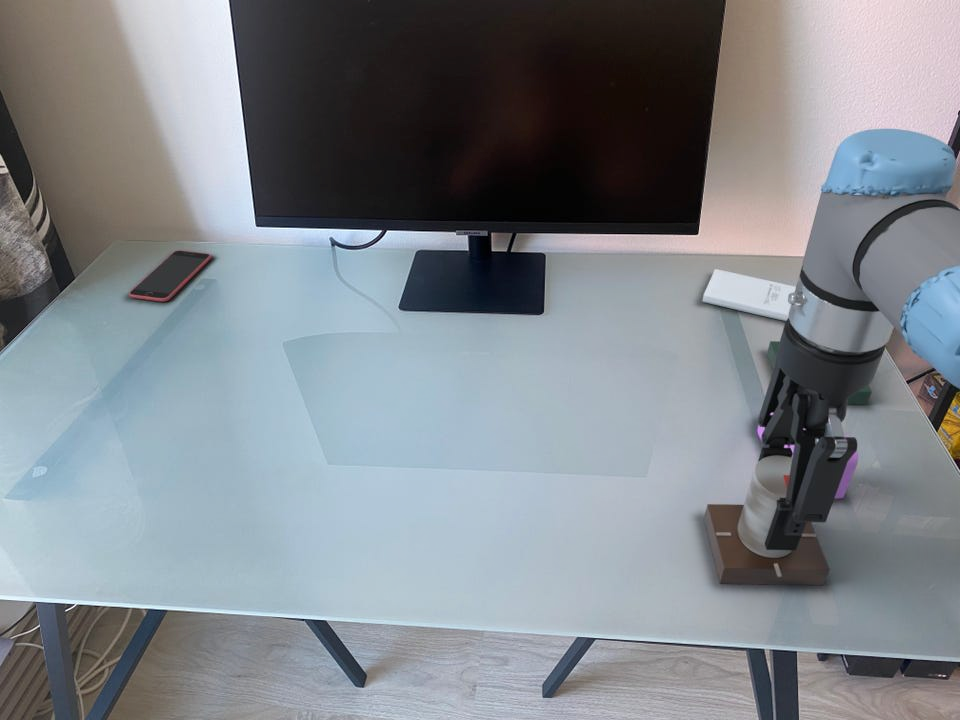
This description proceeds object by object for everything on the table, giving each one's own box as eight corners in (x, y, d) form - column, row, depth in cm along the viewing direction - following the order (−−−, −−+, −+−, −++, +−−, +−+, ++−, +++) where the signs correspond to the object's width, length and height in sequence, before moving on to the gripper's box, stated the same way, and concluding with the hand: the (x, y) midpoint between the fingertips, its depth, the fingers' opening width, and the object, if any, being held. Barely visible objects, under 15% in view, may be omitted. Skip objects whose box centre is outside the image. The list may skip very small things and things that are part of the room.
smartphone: (125, 294, 116) (175, 249, 126) (126, 297, 116) (176, 252, 127) (166, 299, 114) (213, 253, 125) (167, 303, 115) (213, 256, 125)
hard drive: (713, 276, 118) (797, 294, 114) (701, 303, 112) (788, 323, 108) (715, 267, 117) (799, 285, 113) (703, 294, 111) (791, 313, 107)
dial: (731, 512, 78) (748, 452, 72) (786, 513, 78) (808, 453, 72) (744, 557, 73) (763, 497, 68) (802, 558, 73) (827, 497, 68)
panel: (796, 514, 81) (802, 497, 79) (826, 593, 73) (833, 576, 71) (701, 513, 81) (705, 496, 79) (721, 591, 73) (726, 575, 72)
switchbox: (866, 405, 94) (876, 380, 92) (784, 402, 95) (792, 378, 92) (842, 355, 102) (850, 331, 99) (766, 353, 102) (773, 330, 100)
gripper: (758, 267, 67) (713, 451, 82) (825, 407, 53) (755, 602, 67) (844, 267, 67) (783, 453, 81) (935, 409, 52) (842, 604, 67)
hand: (771, 520), depth 74 cm, fingers closed on dial, 6 cm apart
